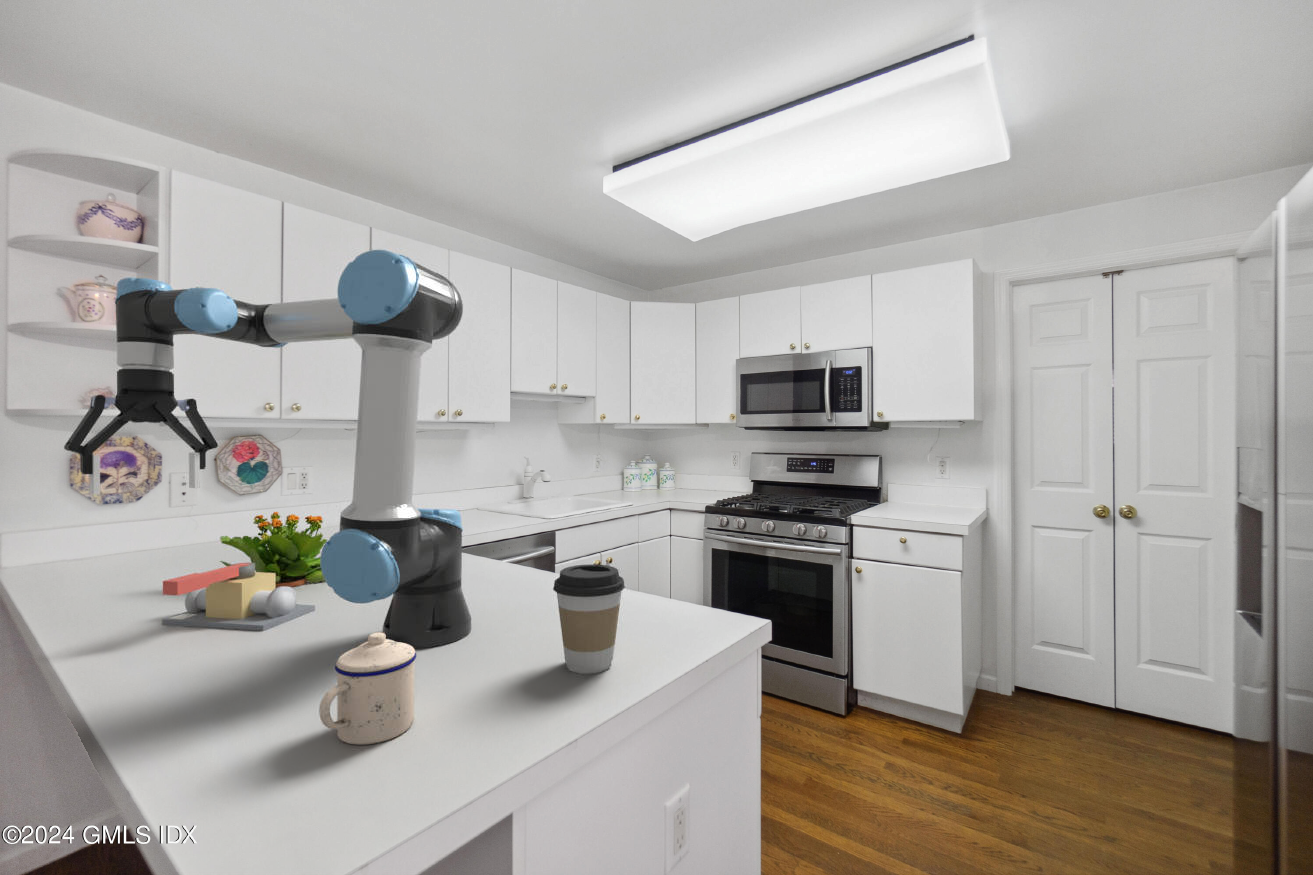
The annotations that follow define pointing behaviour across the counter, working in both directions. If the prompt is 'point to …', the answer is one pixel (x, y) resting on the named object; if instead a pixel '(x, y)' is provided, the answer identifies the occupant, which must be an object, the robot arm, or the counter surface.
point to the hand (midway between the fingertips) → (147, 491)
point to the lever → (207, 578)
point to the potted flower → (284, 550)
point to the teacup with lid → (372, 692)
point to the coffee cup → (589, 615)
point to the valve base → (241, 605)
